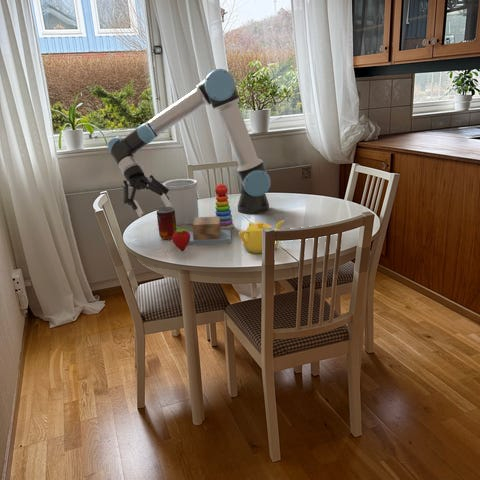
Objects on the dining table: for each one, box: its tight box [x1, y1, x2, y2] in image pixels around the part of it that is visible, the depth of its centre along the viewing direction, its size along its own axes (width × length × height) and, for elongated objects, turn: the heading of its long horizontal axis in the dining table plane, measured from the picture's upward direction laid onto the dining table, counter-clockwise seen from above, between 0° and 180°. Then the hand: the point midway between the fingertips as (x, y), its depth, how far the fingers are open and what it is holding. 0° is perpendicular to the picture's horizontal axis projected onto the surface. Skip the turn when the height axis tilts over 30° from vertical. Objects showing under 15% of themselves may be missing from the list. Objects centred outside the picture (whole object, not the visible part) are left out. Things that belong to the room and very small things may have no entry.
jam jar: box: [156, 206, 178, 241], centre depth 171 cm, size 7×7×12 cm
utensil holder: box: [162, 178, 200, 226], centre depth 193 cm, size 15×15×18 cm
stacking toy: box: [214, 183, 235, 230], centre depth 179 cm, size 8×8×19 cm
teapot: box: [238, 219, 285, 254], centre depth 155 cm, size 14×13×10 cm
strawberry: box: [171, 225, 190, 252], centre depth 156 cm, size 6×8×10 cm
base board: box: [187, 229, 232, 246], centre depth 170 cm, size 18×12×2 cm, turn 90°
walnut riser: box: [191, 215, 221, 240], centre depth 168 cm, size 10×10×6 cm
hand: (156, 211), depth 173 cm, fingers open, 13 cm apart
